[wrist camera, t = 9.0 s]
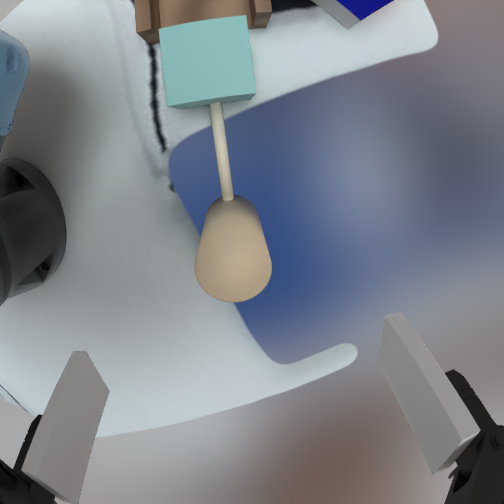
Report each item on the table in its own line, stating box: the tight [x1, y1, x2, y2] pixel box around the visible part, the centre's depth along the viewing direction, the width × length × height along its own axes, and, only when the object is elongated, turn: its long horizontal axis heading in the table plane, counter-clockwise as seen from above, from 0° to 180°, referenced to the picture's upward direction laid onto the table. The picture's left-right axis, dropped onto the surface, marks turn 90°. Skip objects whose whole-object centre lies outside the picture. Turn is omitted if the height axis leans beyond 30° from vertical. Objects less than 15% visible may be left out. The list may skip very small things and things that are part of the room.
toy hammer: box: [159, 15, 272, 302], centre depth 21 cm, size 6×20×10 cm, turn 7°
